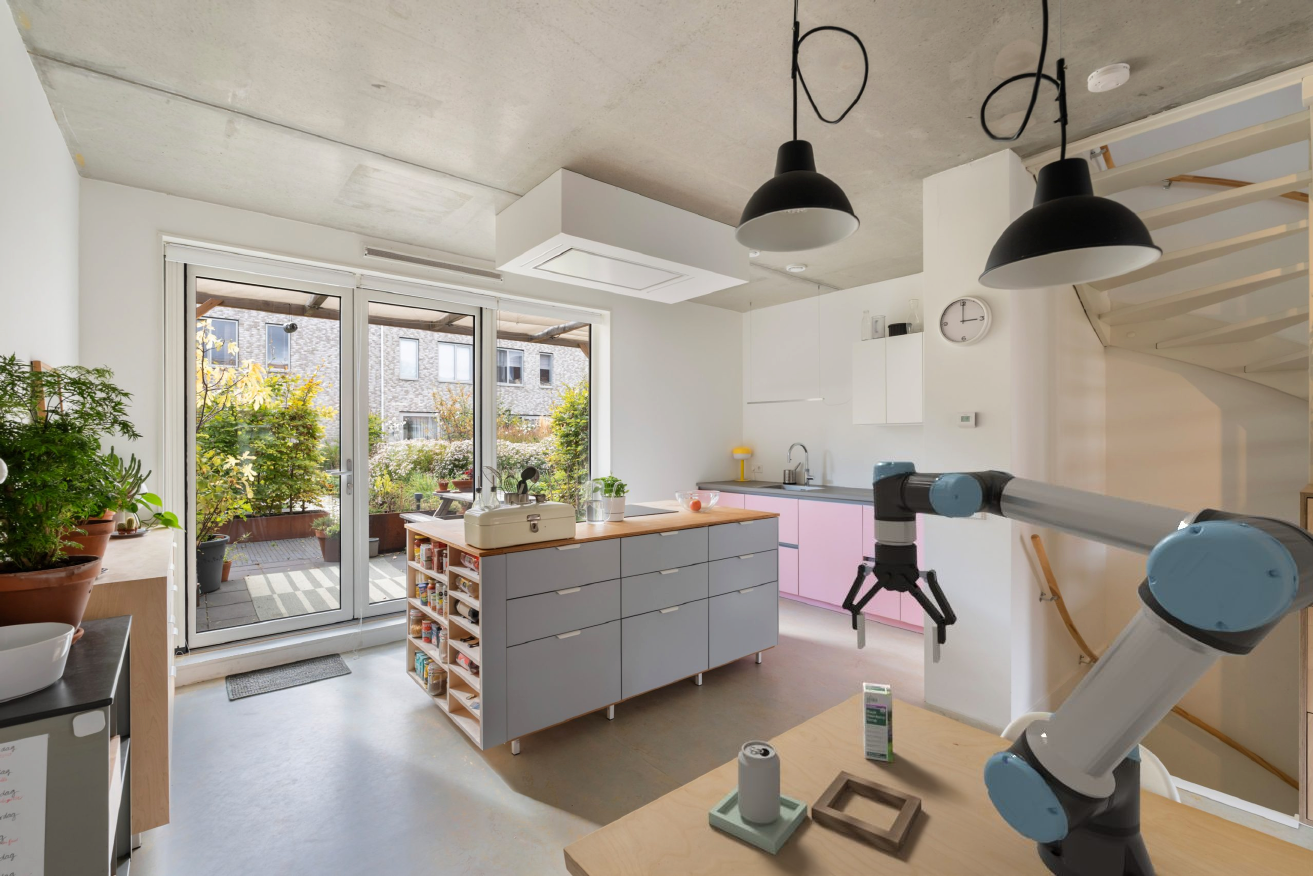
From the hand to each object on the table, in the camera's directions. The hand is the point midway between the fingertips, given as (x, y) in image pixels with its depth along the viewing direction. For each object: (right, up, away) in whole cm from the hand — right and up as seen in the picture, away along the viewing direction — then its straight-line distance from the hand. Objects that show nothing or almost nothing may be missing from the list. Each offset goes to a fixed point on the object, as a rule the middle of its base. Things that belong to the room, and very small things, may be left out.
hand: (897, 653), depth 111 cm
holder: (-7, -28, -4) cm, 29 cm away
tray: (-28, -28, -6) cm, 40 cm away
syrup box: (+2, -28, +16) cm, 32 cm away
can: (-28, -27, -6) cm, 39 cm away
